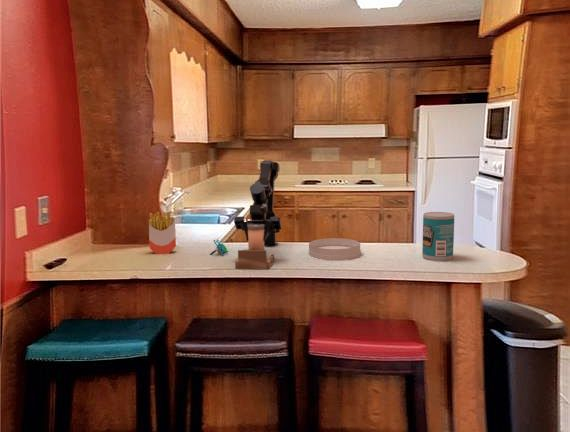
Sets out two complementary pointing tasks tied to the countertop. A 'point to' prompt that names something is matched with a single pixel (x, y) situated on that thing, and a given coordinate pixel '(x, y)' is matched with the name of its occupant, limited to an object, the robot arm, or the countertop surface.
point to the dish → (334, 249)
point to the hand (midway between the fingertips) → (255, 240)
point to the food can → (438, 236)
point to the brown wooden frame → (253, 259)
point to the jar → (256, 236)
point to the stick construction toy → (223, 248)
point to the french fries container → (162, 233)
